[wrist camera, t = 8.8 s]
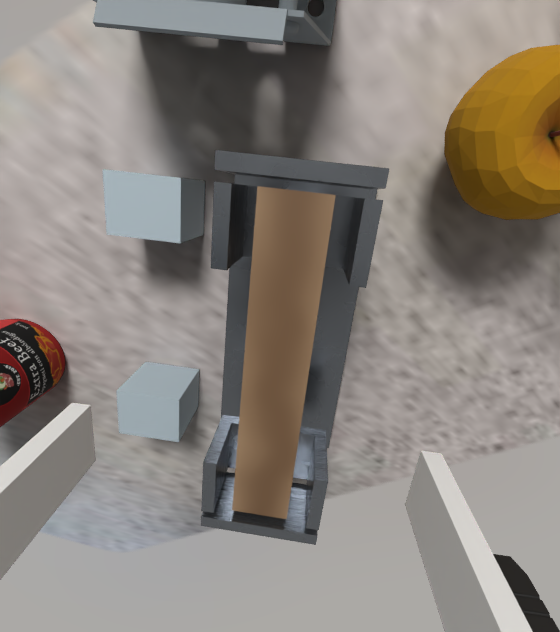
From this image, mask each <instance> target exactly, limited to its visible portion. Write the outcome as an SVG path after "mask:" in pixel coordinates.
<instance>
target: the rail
mask: <svg viewBox="0 0 560 632" xmlns="http://www.w3.org/2000/svg"><path fill="white" fill-rule="evenodd" d="M335 196H336V195H331V194H322V193H314V192H305V191H296V190H287V189H278V188H269V187H260V186H258V187H257V200H256V213H255V225H254V238H253V251H252V263H251V276H250V289H249V302H248V314H247V327H246V340H245V353H244V365H243V378H242V391H241V404H240V416H239V429H238V442H237V455H236V467H235V480H234V493H233V506H232V510H233V511H239V512H245V513H252V514H258V515H264V516H270V517H276V518H282V519H287V513H288V507H289V500H290V494H291V487H292V480H293V474H294V467H295V460H296V454H297V447H298V441H299V434H300V427H301V421H302V414H303V408H304V401H305V394H306V388H307V381H308V375H309V368H310V361H311V355H312V348H313V342H314V335H315V328H316V322H317V315H318V308H319V302H320V295H321V289H322V282H323V275H324V269H325V262H326V256H327V249H328V242H329V236H330V229H331V223H332V216H333V209H334V203H335Z"/></svg>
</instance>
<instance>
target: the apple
mask: <svg viewBox="0 0 560 632" xmlns="http://www.w3.org/2000/svg"><path fill="white" fill-rule="evenodd" d="M444 154H445V157H446V160H447V163H448V166H449V169H450V172H451V174H452V177H453V180H454V183H455V186H456V187H457V189H458V191H459V193H460V195H461V197H462V199H463V200H464V201H465V202H466V203H467V204H469V205H470V206H471V207H472V208H474V209H475V210H477V211H479V212H481V213H483V214H487V215H490V216H494V217H498V218H501V219H505V220H510V219H540V218H544V217H547V216H550V215H554V214H557V213H560V45H552V46H544V47H536V48H530V49H528V50H525V51H522V52H520V53H517V54H515V55H512V56H510V57H508V58H507V59H505V60H504V61H502V62H501V63H499V64H498V65H496V66H495V67H493V68H492V69H490V70H489V71H487V72H486V73H485V74H484V75H483V76H482V77H481V78H480V79H479V80H478V81H477V82H476V83H475V84H474V85H473V87H472V88H471V89H470V90H469V91H468V92H467V93H466V94H465V95H464V96H463V98H462V99H461V101H460V102H459V104H458V105H457V107H456V108H455V110H454V111H453V113H452V114H451V116H450V119H449V122H448V125H447V128H446V131H445V150H444Z"/></svg>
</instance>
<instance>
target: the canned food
mask: <svg viewBox="0 0 560 632" xmlns="http://www.w3.org/2000/svg"><path fill="white" fill-rule="evenodd" d="M64 370H65V357H64V353H63V350H62V348H61V346H60V344H59V343H58V341H57V340H56V339H55V338H54V336H53V335H52V334H50V333H49V332H48V331H47V330H46V329H44V328H43V327H41V326H40V325H38V324H36V323H34V322H31V321H28V320H23V319H7V320H0V427H1V426H2V425H4V424H5V423H6V422H8V421H9V420H10V419H12V418H13V417H14V416H16V415H17V414H18V413H20V412H21V411H22V410H24V409H25V408H26V407H28V406H29V405H30V404H32V403H33V402H34V401H36V400H37V399H38V398H40V397H41V396H42V395H44V394H45V393H46V392H48V391H49V390H50V389H52V388H53V387H54V386H55V385H56V384H57V383H58V381H59V380H60V378H61V377H62V375H63V372H64Z"/></svg>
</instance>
